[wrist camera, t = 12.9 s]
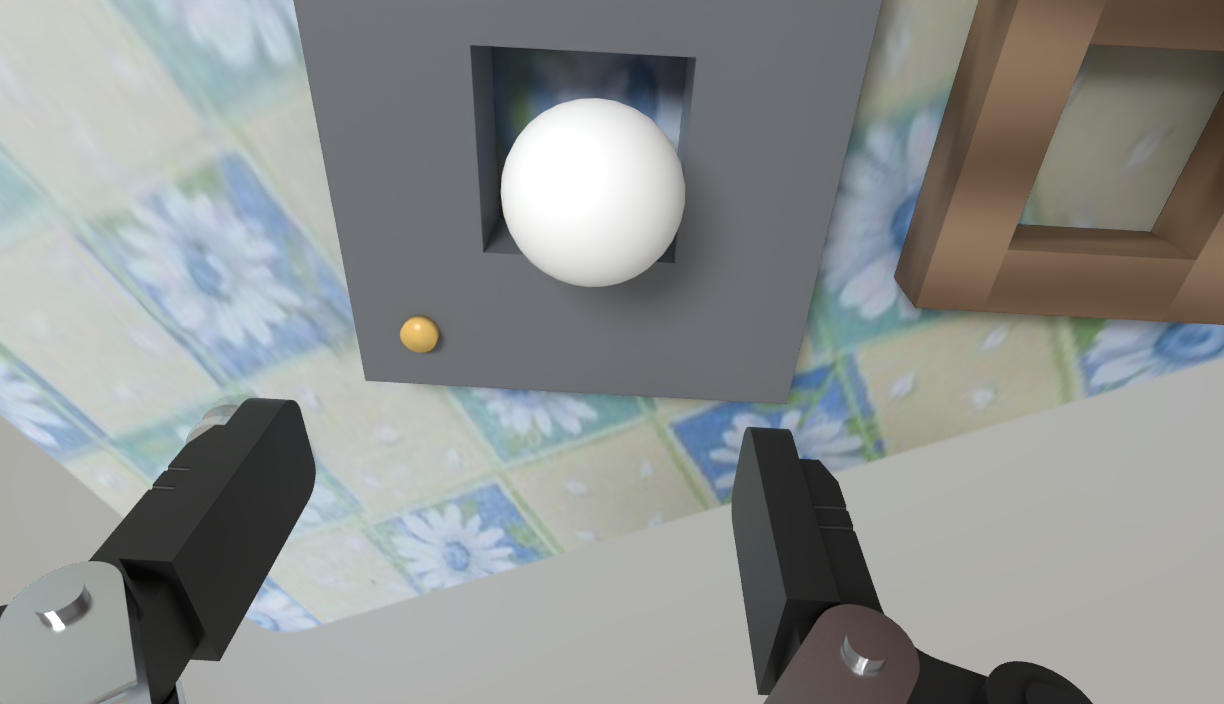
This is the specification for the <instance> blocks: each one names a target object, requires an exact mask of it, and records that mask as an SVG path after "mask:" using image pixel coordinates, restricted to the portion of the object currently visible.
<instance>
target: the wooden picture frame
mask: <svg viewBox="0 0 1224 704" xmlns="http://www.w3.org/2000/svg"><path fill="white" fill-rule="evenodd" d="M1089 44H1100V45H1118V46H1136V47H1154V48H1172V49H1191V50H1209V51H1224V0H979V2H978V5H977V8H976V11H975V15H974V18H973V21H972V24H971V28H970V31H969V34H968V38H967V41H966V44H965V47H964V51H963V54H962V57H961V60H960V64H959V67H958V70H957V73H956V77H955V80H954V83H953V86H952V90H951V93H950V96H949V99H948V103H947V106H946V109H945V112H944V116H943V119H942V122H941V125H940V129H939V132H938V135H937V138H936V142H935V145H934V148H933V151H932V155H931V158H930V161H929V165H928V168H927V171H926V174H925V178H924V181H923V184H922V187H921V191H920V194H919V197H918V200H917V204H916V207H915V210H914V213H913V217H912V220H911V223H910V226H909V230H908V233H907V236H906V239H905V243H904V246H903V249H902V252H901V256H900V259H899V262H898V265H897V269H896V272H895V275H894V278H895V279H896V281H897V282H898V284H899V285H900V286H901V288H902V289H903V291H904V292H905V294H906V295H907V297H908V298H909V299H910V301H911V302H912V304H913V305H914V307H915V308H930V309H948V310H966V311H984V312H1002V313H1020V314H1038V315H1056V316H1074V317H1092V318H1110V319H1128V320H1146V321H1164V322H1182V323H1200V324H1218V325H1224V93H1223V95H1222V97H1221V99H1220V101H1219V102H1218V104H1217V106H1216V108H1215V110H1214V112H1213V114H1212V116H1211V118H1210V120H1209V122H1208V124H1207V126H1206V127H1205V129H1204V131H1203V133H1202V135H1201V137H1200V139H1199V141H1198V143H1197V145H1196V147H1195V149H1194V151H1193V153H1192V154H1191V156H1190V158H1189V160H1188V162H1187V164H1186V166H1185V168H1184V170H1183V172H1182V174H1181V176H1180V178H1179V179H1178V181H1177V183H1176V185H1175V187H1174V189H1173V191H1172V193H1171V195H1170V197H1169V199H1168V201H1167V203H1166V205H1165V206H1164V208H1163V210H1162V212H1161V214H1160V216H1159V218H1158V220H1157V222H1156V224H1155V226H1154V228H1153V230H1152V232H1146V231H1128V230H1110V229H1092V228H1074V227H1056V226H1037V225H1019V224H1018V221H1019V219H1020V216H1021V214H1022V211H1023V209H1024V206H1025V204H1026V201H1027V199H1028V196H1029V194H1030V191H1031V189H1032V186H1033V184H1034V181H1035V179H1036V176H1037V174H1038V171H1039V169H1040V166H1041V164H1042V161H1043V159H1044V156H1045V154H1046V151H1047V149H1048V146H1049V144H1050V141H1051V139H1052V136H1053V134H1054V131H1055V129H1056V126H1057V124H1058V121H1059V119H1060V116H1061V114H1062V111H1063V109H1064V106H1065V104H1066V101H1067V99H1068V96H1069V94H1070V91H1071V89H1072V86H1073V84H1074V81H1075V79H1076V76H1077V74H1078V71H1079V69H1080V66H1081V64H1082V61H1083V59H1084V56H1085V54H1086V51H1087V49H1088V46H1089Z"/></svg>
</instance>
